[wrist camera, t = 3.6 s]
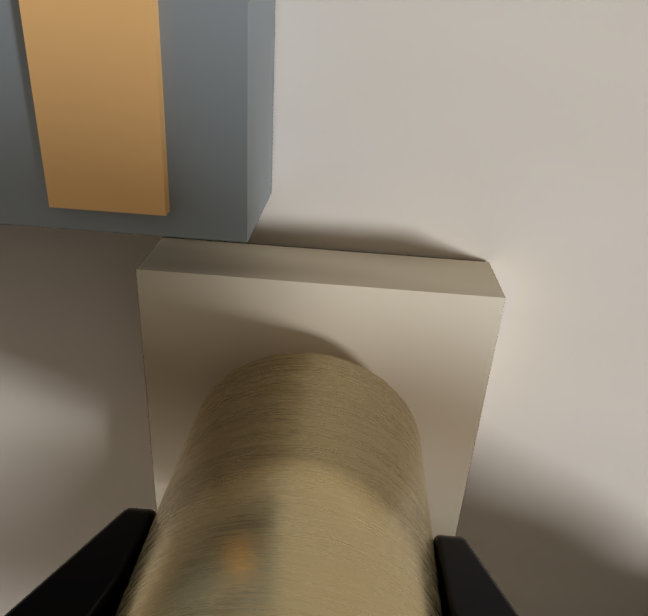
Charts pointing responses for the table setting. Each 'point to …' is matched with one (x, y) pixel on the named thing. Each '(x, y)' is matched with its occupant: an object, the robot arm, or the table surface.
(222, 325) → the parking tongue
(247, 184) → the hole plate
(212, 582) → the brass peg
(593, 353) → the table surface
